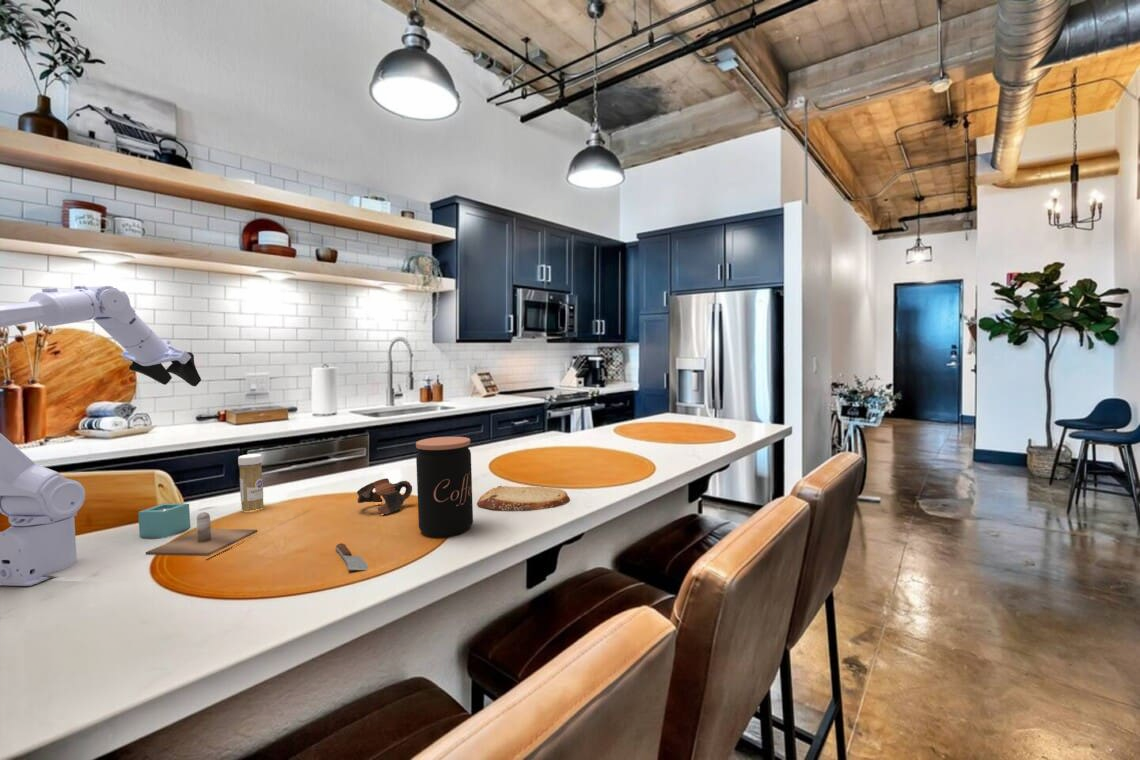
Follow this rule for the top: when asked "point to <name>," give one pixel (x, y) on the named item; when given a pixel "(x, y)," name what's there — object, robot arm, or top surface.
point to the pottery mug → (385, 494)
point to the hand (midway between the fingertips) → (182, 382)
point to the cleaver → (351, 558)
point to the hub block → (202, 540)
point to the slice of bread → (522, 498)
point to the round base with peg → (164, 537)
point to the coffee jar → (444, 486)
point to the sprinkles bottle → (251, 481)
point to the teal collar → (164, 520)
